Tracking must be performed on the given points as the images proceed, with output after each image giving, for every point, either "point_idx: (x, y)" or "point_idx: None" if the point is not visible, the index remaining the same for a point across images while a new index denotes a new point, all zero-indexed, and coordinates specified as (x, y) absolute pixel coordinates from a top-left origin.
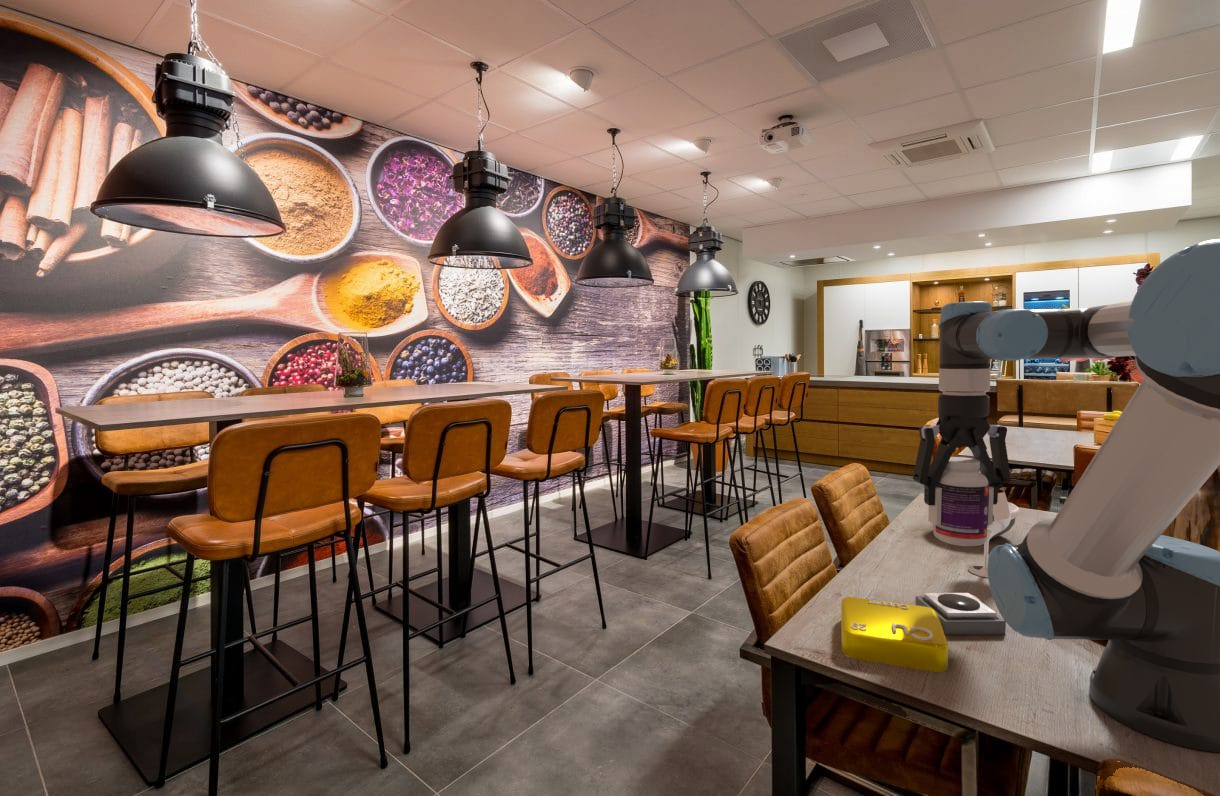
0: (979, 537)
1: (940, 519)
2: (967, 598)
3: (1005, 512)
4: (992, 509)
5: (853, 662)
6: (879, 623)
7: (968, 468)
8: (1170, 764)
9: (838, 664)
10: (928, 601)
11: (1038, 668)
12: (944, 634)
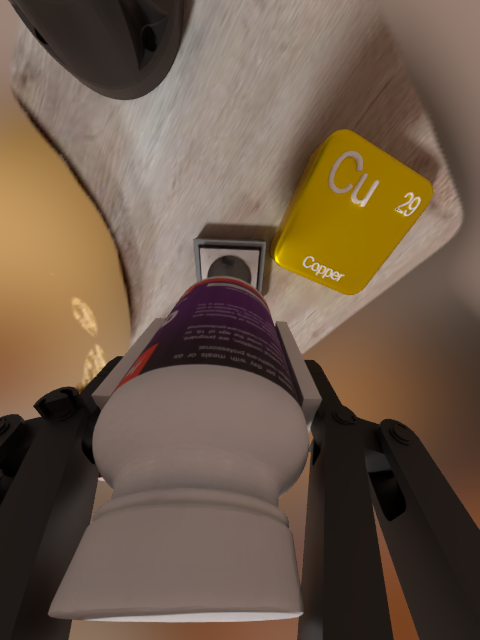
0: (207, 280)
1: (280, 328)
2: None
3: None
4: (138, 340)
5: None
6: (372, 215)
7: (194, 515)
8: None
9: (433, 170)
10: None
11: (203, 145)
12: (264, 240)
